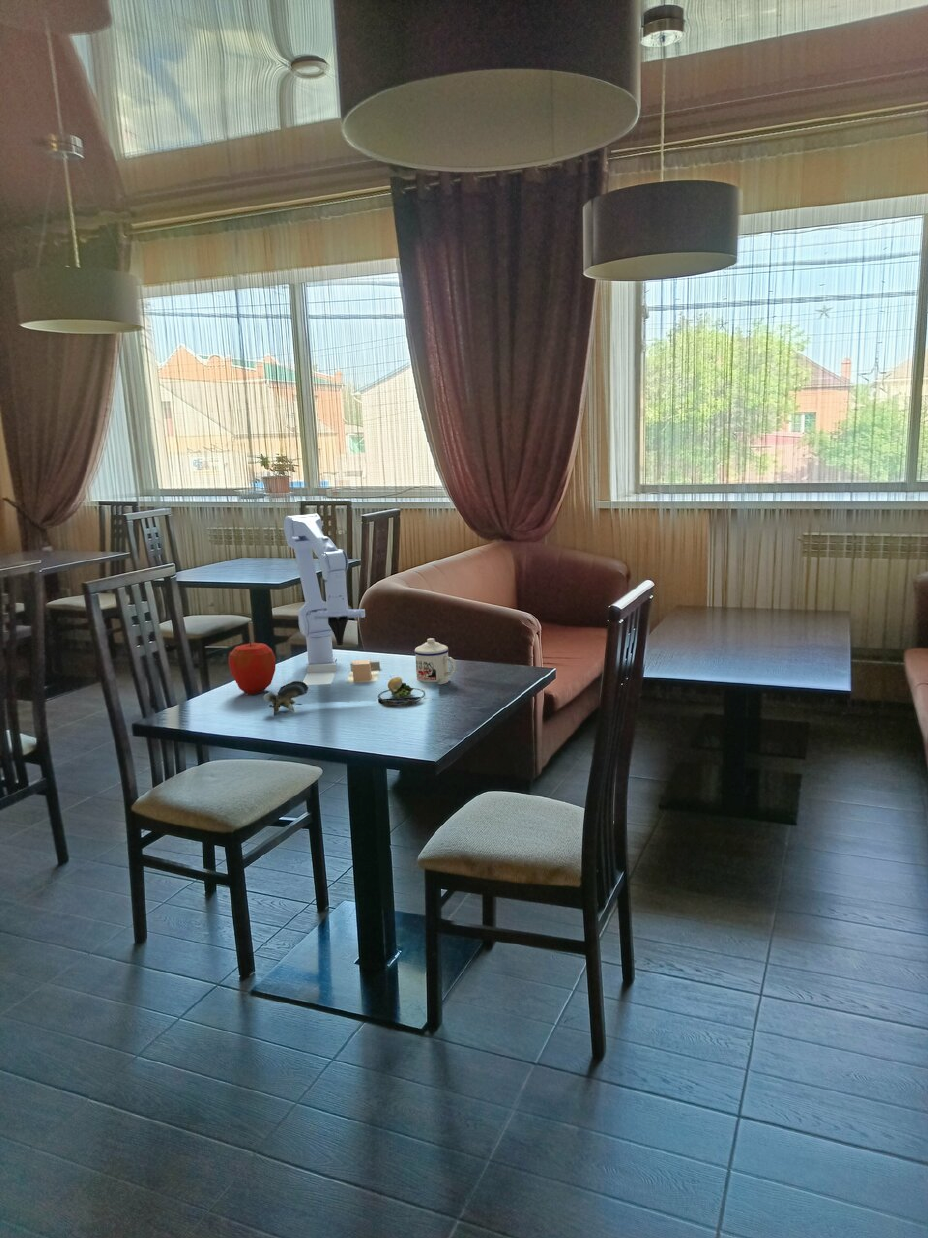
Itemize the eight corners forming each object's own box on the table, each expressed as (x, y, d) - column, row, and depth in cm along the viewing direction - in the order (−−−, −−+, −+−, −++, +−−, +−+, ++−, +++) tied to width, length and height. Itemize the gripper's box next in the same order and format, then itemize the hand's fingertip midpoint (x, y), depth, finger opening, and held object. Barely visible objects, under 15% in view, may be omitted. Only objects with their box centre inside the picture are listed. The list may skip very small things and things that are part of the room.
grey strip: (308, 675, 243) (307, 664, 242) (337, 673, 243) (336, 663, 242) (301, 689, 229) (300, 678, 228) (331, 687, 229) (330, 676, 229)
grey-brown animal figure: (294, 713, 205) (316, 694, 213) (274, 687, 205) (297, 669, 213) (274, 726, 210) (296, 708, 218) (254, 702, 209) (277, 684, 217)
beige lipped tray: (351, 672, 243) (350, 662, 242) (380, 671, 243) (379, 660, 243) (346, 686, 229) (345, 675, 229) (377, 684, 230) (376, 673, 229)
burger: (418, 708, 209) (417, 678, 208) (371, 707, 212) (369, 678, 210) (430, 694, 221) (429, 665, 219) (385, 693, 223) (384, 665, 222)
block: (354, 676, 235) (353, 660, 234) (371, 675, 235) (370, 659, 234) (353, 681, 230) (352, 664, 230) (370, 680, 231) (369, 663, 230)
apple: (272, 698, 223) (267, 644, 220) (226, 700, 223) (220, 646, 220) (283, 685, 235) (278, 634, 232) (239, 686, 235) (234, 636, 232)
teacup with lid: (409, 683, 230) (406, 641, 228) (429, 675, 237) (427, 633, 235) (445, 689, 223) (443, 645, 221) (466, 680, 230) (463, 637, 228)
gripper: (307, 599, 230) (311, 649, 233) (362, 596, 231) (365, 646, 234) (311, 594, 237) (315, 643, 240) (364, 592, 238) (367, 640, 240)
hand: (340, 644), depth 237 cm, fingers closed
